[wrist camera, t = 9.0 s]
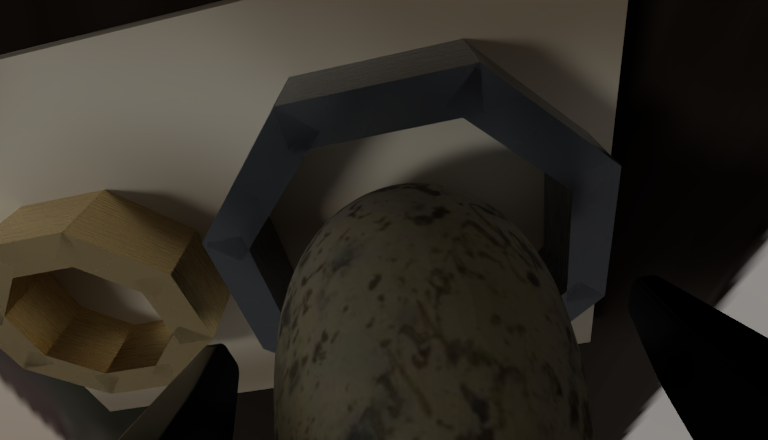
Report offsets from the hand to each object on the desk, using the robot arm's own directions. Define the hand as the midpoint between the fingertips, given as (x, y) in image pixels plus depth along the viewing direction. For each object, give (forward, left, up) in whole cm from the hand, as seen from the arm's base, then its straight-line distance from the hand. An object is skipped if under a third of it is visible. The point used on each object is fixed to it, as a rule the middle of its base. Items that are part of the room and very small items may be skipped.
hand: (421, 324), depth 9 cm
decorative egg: (0, 0, -4) cm, 4 cm away
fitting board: (0, +4, -5) cm, 6 cm away
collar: (0, 0, -5) cm, 5 cm away
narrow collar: (0, +9, -5) cm, 10 cm away
